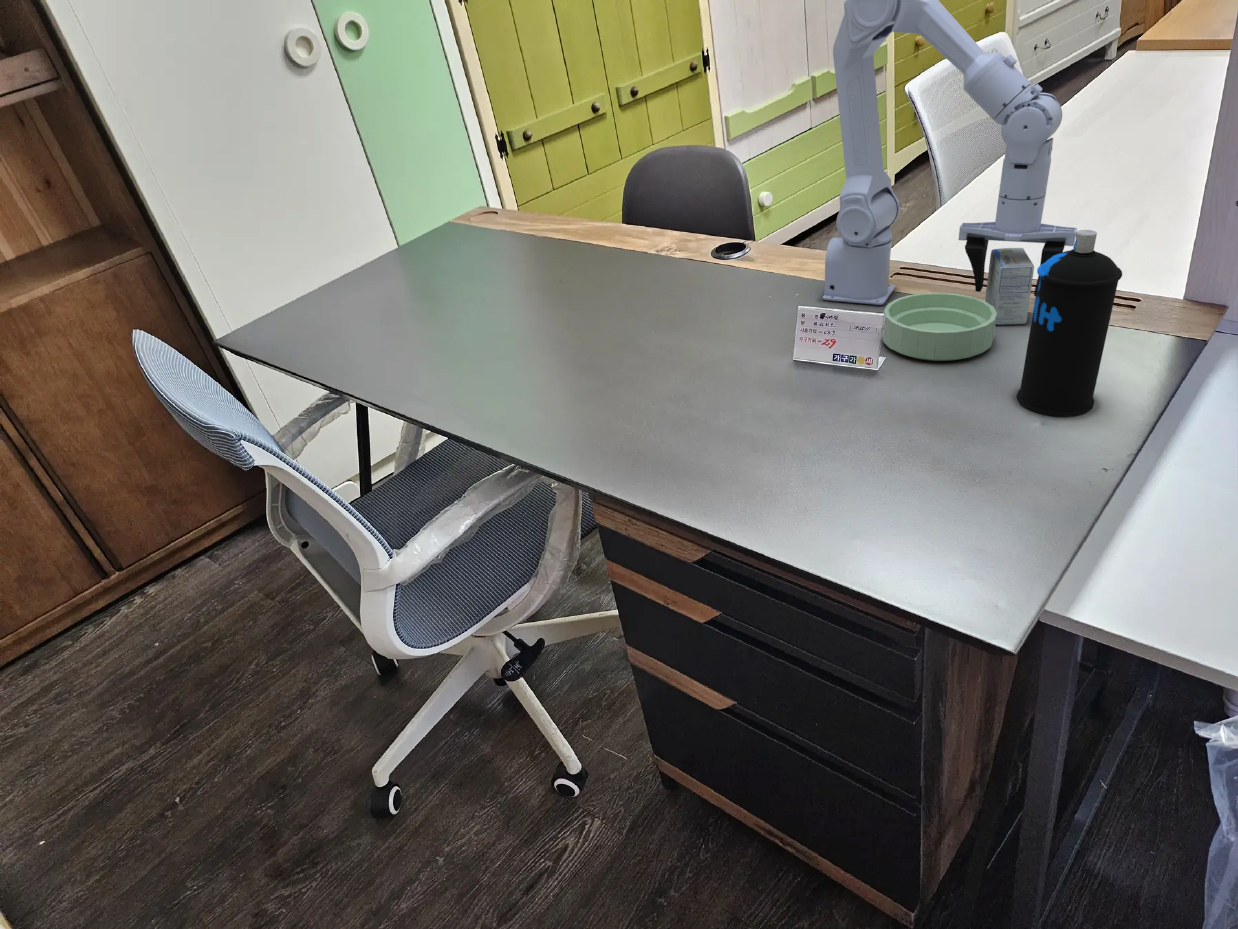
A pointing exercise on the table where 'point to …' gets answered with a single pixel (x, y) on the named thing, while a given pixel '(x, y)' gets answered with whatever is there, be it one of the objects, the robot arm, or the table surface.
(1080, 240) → the aerosol can
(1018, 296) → the medicine box
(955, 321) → the bowl
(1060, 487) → the table surface
